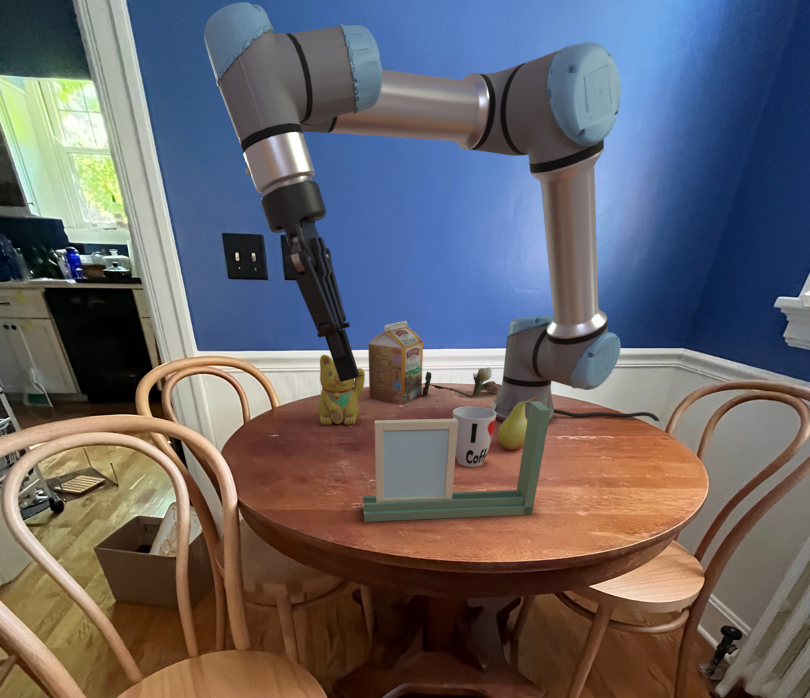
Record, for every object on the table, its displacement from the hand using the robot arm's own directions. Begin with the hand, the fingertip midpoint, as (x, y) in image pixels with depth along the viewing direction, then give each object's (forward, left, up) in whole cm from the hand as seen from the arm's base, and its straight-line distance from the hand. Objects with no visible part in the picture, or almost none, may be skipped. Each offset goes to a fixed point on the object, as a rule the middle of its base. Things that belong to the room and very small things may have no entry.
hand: (349, 378), depth 70 cm
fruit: (-34, -20, -20) cm, 44 cm away
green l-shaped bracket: (-15, +6, -20) cm, 25 cm away
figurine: (+2, -42, -20) cm, 46 cm away
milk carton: (-13, -62, -20) cm, 66 cm away
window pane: (-9, +6, -18) cm, 21 cm away
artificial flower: (-32, -62, -20) cm, 73 cm away
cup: (-23, -14, -20) cm, 34 cm away
